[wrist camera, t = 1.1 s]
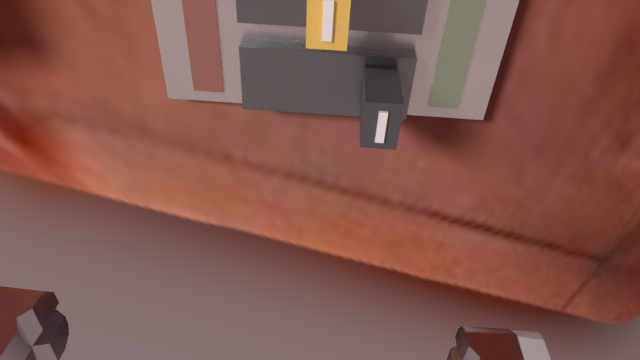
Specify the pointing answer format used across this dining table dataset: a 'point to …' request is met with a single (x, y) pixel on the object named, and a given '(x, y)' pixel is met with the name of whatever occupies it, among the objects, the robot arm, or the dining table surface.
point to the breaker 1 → (327, 24)
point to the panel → (421, 42)
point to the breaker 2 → (380, 108)
